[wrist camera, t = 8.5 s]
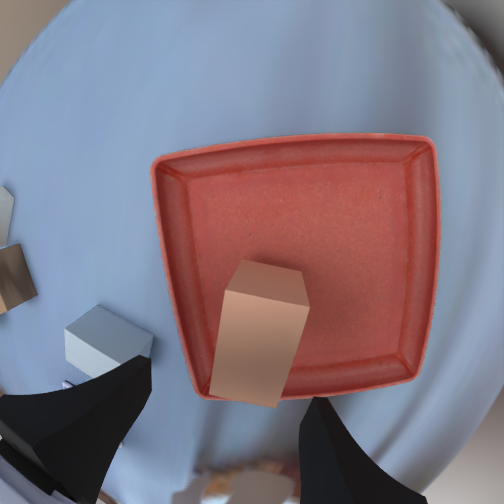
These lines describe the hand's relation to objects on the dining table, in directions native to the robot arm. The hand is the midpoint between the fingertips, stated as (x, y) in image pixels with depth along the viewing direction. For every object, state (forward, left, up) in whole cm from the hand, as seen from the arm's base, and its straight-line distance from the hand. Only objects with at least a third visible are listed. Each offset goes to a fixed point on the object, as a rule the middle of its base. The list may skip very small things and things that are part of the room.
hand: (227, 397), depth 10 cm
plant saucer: (+3, -3, -10) cm, 11 cm away
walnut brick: (-4, +26, -10) cm, 28 cm away
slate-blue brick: (-6, +11, -10) cm, 15 cm away
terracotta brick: (+1, -1, -7) cm, 7 cm away
